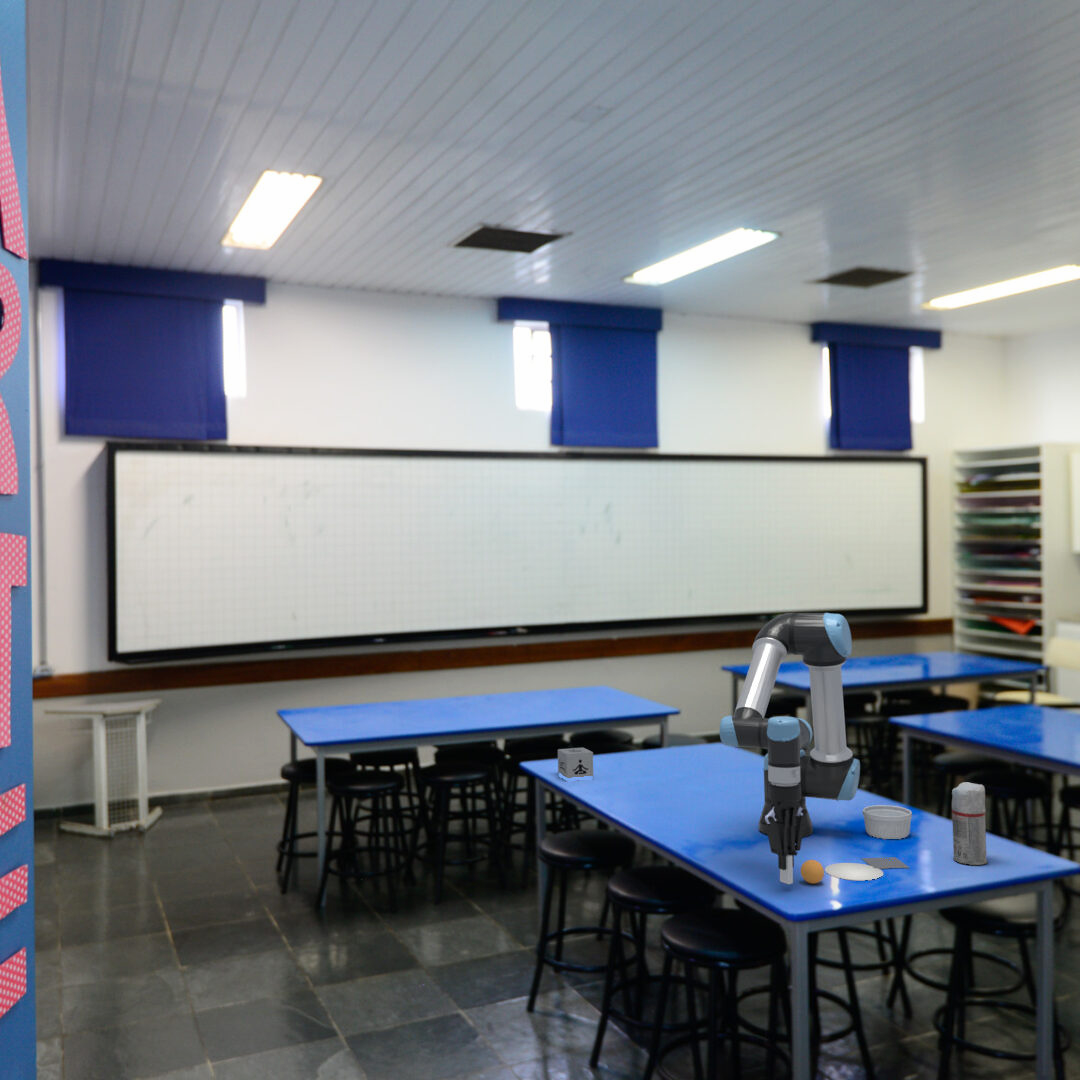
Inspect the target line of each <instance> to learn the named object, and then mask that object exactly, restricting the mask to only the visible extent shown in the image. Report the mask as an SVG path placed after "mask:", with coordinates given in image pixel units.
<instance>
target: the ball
mask: <svg viewBox="0 0 1080 1080" xmlns="http://www.w3.org/2000/svg"><path fill="white" fill-rule="evenodd" d="M800 875H801V878H803V880H804V881H805V882H807V883H808V884H818V883H820V882H821V881H822V880H823V879H824V877H825V869H824V867H823V865H822V864H821V863H820V862H819V861H818V860H814V859H808V860H805V861H804V862H803V863H802V865H801V867H800Z"/></svg>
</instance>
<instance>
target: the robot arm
mask: <svg viewBox="0 0 1080 1080" xmlns="http://www.w3.org/2000/svg"><path fill="white" fill-rule="evenodd" d="M851 633H852V632H851V629H850V625H849V623H848V621H847V619H846V618H845V616H844V615H842V614H840V613H829V612H803V613H802V612H800V613H799V612H796V613H795V612H785V613H783V614H780V615H778V616H775V617H774V618H772V619H771V620H770V621H768V622H767V623H766V624H765V625H764V626H763V627H762V628H761V629H760V630H759V632H758V633H757V634H756V637H755V638H754V640H753V644H752V649H751V650H752V654H753V655H752V658H751V662H750V664H749V668H748V671H747V674H746V677H745V679H744V683H743V685H742V686H743V687H742V689H741V692H740V694H739V698H738V700H737V704H736V707H735V710H734V712H733V715H726V716H723V718H721V720H720V723H719V737H720V741H721V743H722V744H723V745H725V746H730V747H735V748H748V749H749V748H751V749H752V748H754V749H764V750H767V753H766V754H765V755H764V758H763V768H762V769H763V791H764V804H763V807H762V811H761V815H760V818H759V821H758V831H759V830H760V831H761V832H762V833H761V832H760V831H759V832H760V833H761V834H763V833H765V834H764V835H766V834H767V837H768V841H769V842H768V843H769V848H770V852H771V853H772V854H775V855H777V859H778V861H777V863H778V865H777V866H778V869H779V882H781V883H784V884H787V885H791V884H794V876H793V875H794V874H793V873H794V871H793V870H794V869H793V868H794V866H795V863H794V862H795V857H796V856H798V853H799V851H801V848H802V847H801V846H802V839H803V838H804V837H808V836H810V835H812V834H813V833H814V831H813V822H812V820H811V816H810V814H809V811H808V808H807V800H806V799H807V798H812V799H813V798H814V799H823V800H834V801H837V802H838V801H839V802H840V801H852V800H853V799H854V798H855V797H856V794H857V791H858V787H859V783H860V782H859V781H860V774H861V772H860V771H861V763H860V760H859V759H857V758H854V757H853V756H854V755H853V751H852V750H851V749H850V748H849V747H847V737H846V735H847V734H846V721H845V719H846V718H845V708H844V692H843V679H842V678H843V677H842V666H843V665H844V664H845V663H846V662H847V657H850V656H851V654H852V650H853V646H852V634H851ZM790 655H794V656H802V664H804V665H805V666H806V667H807V668H808V673H809V686H810V687H809V688H810V701H811V713H812V724H813V730H812V727H811V725H810V723H809V722H808V721H806V720H805V719H803V718H800V717H794V716H773V717H769V718H765V715H766V712H767V708H768V705H769V702H770V699H771V697H772V694H773V689H774V686H775V683H776V680H777V676H778V673H779V671H780V666H781V664H782V663H784V662H785V661H786V659H787V656H790ZM813 737H814V739H813V740H814V748H812V749H811V750H810V751H809V755H806V752H805V750H804V749H805V748H807V746H808V745H809V744H810V743H811V741H812V738H813ZM797 851H798V852H797ZM794 856H795V857H794Z"/></svg>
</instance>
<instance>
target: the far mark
mask: <svg viewBox="0 0 1080 1080" xmlns="http://www.w3.org/2000/svg"><path fill="white" fill-rule="evenodd" d="M885 858H886V859H885ZM887 858H889V859H887ZM882 859H883V860H882ZM861 860H862V861H863V860H864V861H863V862H865V863H866V865H868V864H869V865H870V866H872V867H876V868H878V869H880V870H890V869H889V868H904V869H910V867H909V866H908V865H907V864H905V863H904V862H903V861H901V860H900V859H898V858H897V857H896V856H894V857H893V856H891V857H862V858H861ZM889 860H890V861H889ZM892 860H893V861H892ZM874 869H875V868H874Z"/></svg>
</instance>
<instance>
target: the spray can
mask: <svg viewBox="0 0 1080 1080" xmlns="http://www.w3.org/2000/svg"><path fill="white" fill-rule="evenodd" d="M951 791H952V792H951V795H952V796H951V797H952V799H951V816H952V817H951V818H952V822H951V823H952V845H953V847H952V848H953V852H952V853H953V860H954V861H955V862H956V861H957V863H958V862H959V864H962V863H963V864H962V865H966V864H969V865H968V866H981V865H985V864H988V860H987V837H986V836H987V835H986V830H987V829H986V811H987V810H986V789H985V786H984V785H983V784H978V783H972V782H968V781H967V782H965V781H964V782H961V783H959V785H958V786H956V787H954V788H953V789H952V790H951Z"/></svg>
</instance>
